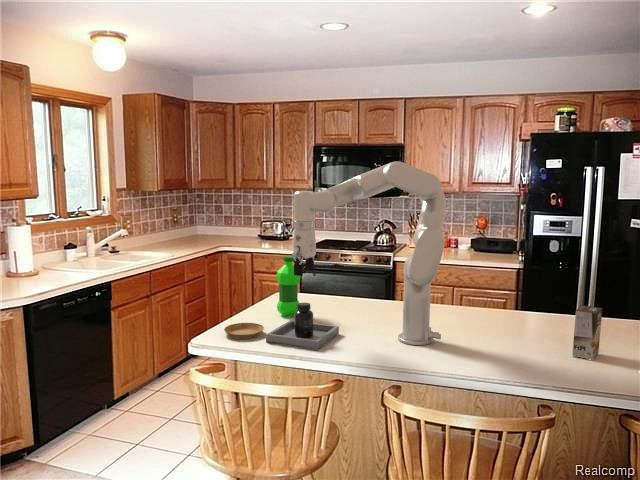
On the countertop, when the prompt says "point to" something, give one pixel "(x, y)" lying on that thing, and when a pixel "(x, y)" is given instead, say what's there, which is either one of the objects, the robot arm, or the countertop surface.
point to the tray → (288, 338)
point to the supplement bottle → (303, 321)
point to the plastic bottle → (287, 288)
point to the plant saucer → (244, 330)
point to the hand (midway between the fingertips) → (304, 273)
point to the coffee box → (587, 332)
